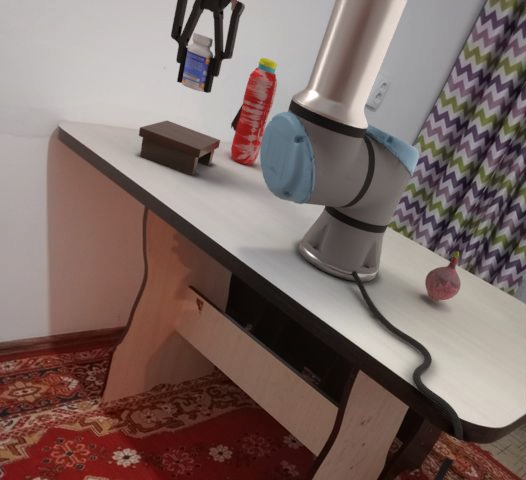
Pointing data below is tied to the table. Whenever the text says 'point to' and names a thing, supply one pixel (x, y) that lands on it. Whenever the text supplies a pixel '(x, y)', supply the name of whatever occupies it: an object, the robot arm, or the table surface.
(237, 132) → the water bottle
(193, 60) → the pill bottle
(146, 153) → the stand
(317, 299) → the table surface
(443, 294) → the vegetable
